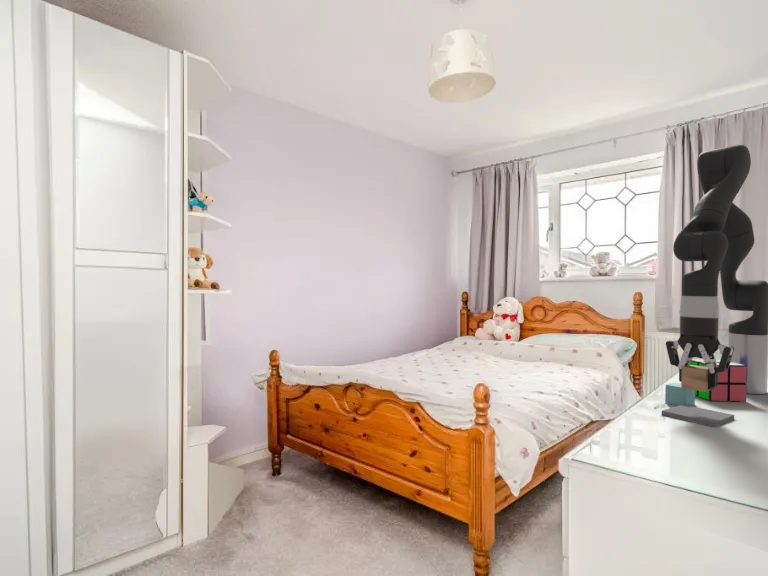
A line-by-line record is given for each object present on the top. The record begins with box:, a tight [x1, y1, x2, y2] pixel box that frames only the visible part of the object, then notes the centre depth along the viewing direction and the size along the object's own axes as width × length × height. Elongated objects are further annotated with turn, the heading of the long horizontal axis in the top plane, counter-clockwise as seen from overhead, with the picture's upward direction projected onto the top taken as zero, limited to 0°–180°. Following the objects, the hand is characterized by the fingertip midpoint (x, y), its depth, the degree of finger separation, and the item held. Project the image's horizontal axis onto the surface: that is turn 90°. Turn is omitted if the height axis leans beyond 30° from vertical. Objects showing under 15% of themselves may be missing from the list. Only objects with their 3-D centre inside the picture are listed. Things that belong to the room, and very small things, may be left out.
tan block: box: [680, 365, 713, 392], centre depth 108 cm, size 5×5×5 cm
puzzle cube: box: [689, 358, 747, 403], centre depth 128 cm, size 10×10×10 cm
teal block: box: [664, 382, 696, 406], centre depth 120 cm, size 5×5×5 cm
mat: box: [661, 404, 735, 428], centre depth 108 cm, size 11×11×1 cm
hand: (697, 386), depth 108 cm, fingers closed on tan block, 5 cm apart
